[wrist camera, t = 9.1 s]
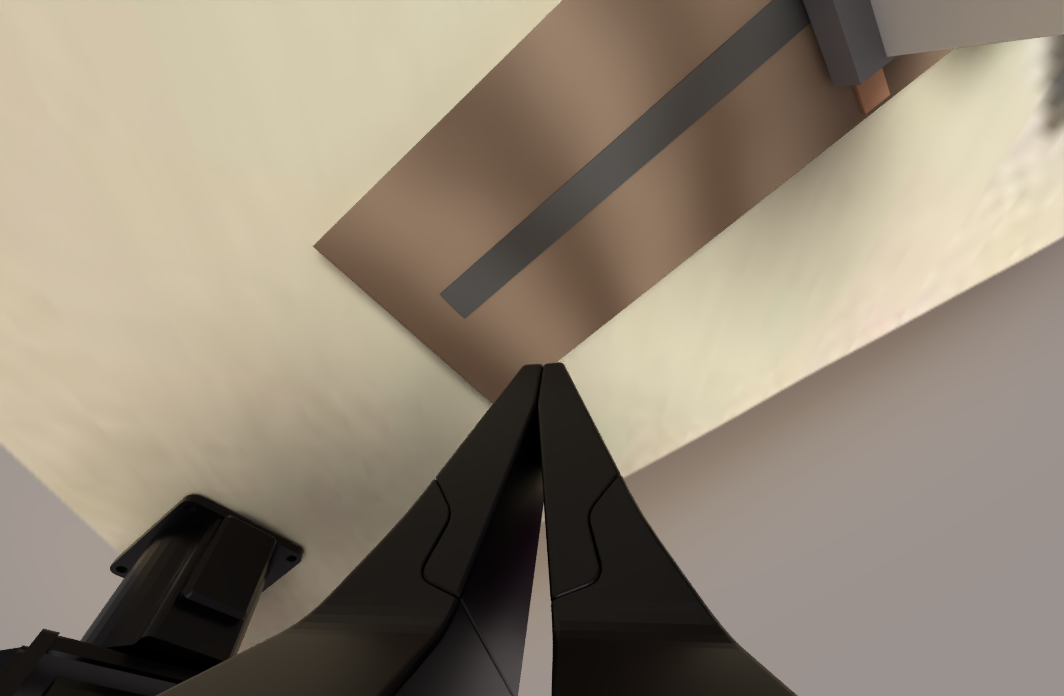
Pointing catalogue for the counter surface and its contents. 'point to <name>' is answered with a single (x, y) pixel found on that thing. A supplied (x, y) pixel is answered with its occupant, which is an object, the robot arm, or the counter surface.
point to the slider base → (594, 171)
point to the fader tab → (920, 29)
